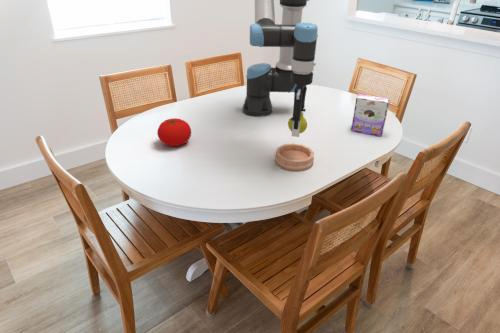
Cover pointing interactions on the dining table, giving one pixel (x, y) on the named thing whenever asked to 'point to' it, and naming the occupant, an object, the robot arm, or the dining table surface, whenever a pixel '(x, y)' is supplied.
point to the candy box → (370, 114)
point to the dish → (294, 157)
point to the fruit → (302, 123)
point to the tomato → (174, 132)
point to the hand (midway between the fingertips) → (296, 131)
